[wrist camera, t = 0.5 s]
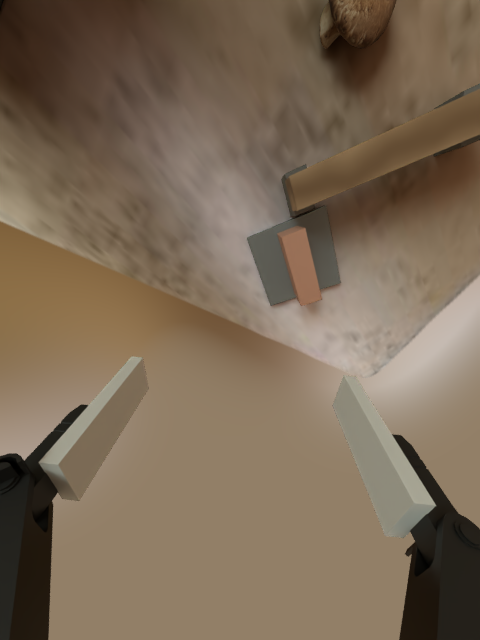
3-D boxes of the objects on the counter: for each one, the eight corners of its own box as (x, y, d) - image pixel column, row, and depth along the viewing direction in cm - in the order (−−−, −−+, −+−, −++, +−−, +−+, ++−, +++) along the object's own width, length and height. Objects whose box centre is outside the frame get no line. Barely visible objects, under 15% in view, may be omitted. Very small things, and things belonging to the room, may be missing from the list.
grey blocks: (281, 178, 29) (284, 173, 26) (459, 96, 25) (494, 76, 21) (290, 215, 31) (295, 216, 28) (457, 146, 27) (488, 136, 23)
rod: (284, 181, 26) (289, 176, 23) (495, 84, 21) (538, 61, 18) (292, 211, 27) (297, 210, 24) (491, 127, 23) (530, 113, 19)
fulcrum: (247, 237, 33) (245, 243, 27) (324, 206, 30) (341, 203, 24) (270, 303, 38) (273, 321, 32) (338, 281, 35) (356, 295, 29)
